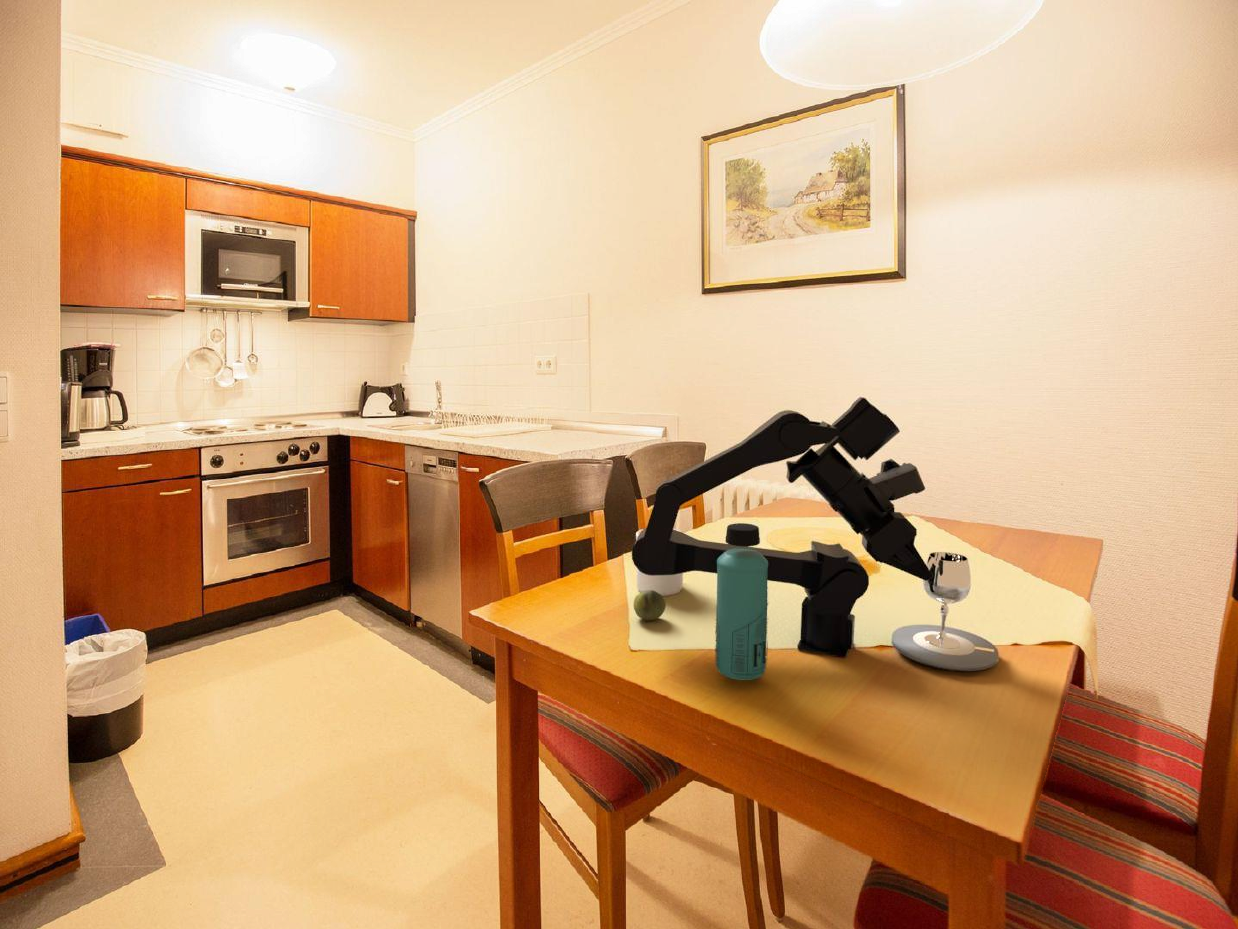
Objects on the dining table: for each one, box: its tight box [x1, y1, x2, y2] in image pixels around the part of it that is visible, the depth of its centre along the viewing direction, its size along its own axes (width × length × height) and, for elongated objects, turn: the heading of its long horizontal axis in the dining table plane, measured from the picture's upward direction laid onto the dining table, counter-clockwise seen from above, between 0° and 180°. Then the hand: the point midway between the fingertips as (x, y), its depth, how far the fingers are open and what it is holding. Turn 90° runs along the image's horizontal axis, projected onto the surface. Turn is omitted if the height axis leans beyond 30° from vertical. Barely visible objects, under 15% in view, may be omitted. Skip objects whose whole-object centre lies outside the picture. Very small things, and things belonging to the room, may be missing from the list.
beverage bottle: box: [714, 522, 770, 681], centre depth 81 cm, size 6×7×20 cm
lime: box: [633, 590, 667, 622], centre depth 101 cm, size 4×5×5 cm
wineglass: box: [922, 551, 972, 648], centre depth 88 cm, size 6×6×12 cm
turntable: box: [891, 624, 999, 672], centre depth 89 cm, size 13×13×1 cm
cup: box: [635, 528, 684, 597], centre depth 117 cm, size 8×12×10 cm
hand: (920, 567), depth 88 cm, fingers open, 9 cm apart
